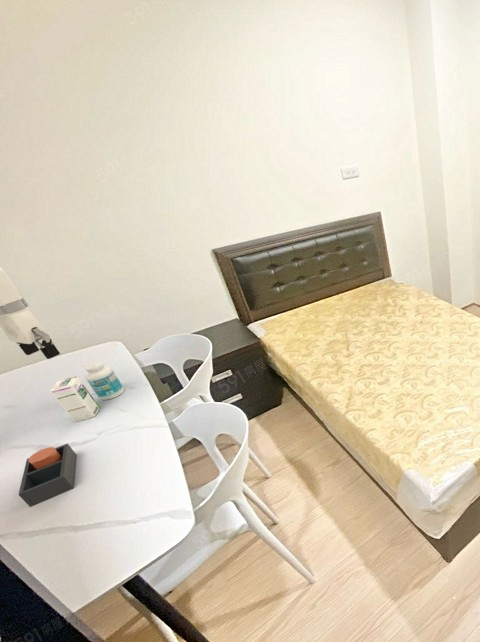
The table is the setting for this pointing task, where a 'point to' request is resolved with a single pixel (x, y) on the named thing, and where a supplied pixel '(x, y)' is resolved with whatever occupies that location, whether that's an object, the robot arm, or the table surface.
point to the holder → (49, 478)
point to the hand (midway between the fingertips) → (43, 354)
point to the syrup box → (75, 399)
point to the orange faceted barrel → (44, 457)
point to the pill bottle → (103, 381)
